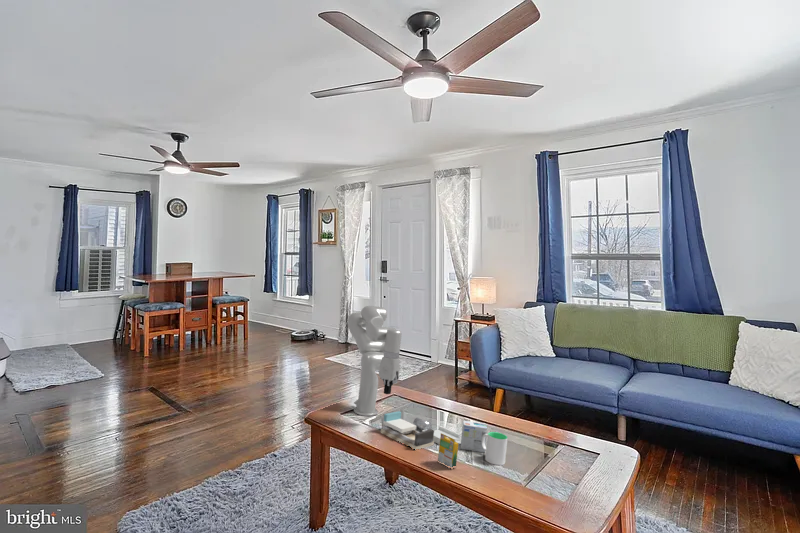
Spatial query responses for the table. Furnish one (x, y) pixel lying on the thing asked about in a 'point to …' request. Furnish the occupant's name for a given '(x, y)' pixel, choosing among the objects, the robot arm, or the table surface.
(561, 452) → the table surface
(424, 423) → the loose roller
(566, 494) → the table surface
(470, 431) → the light bulb box
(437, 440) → the roller rack
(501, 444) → the mug
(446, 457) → the crayon box
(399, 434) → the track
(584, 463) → the table surface
